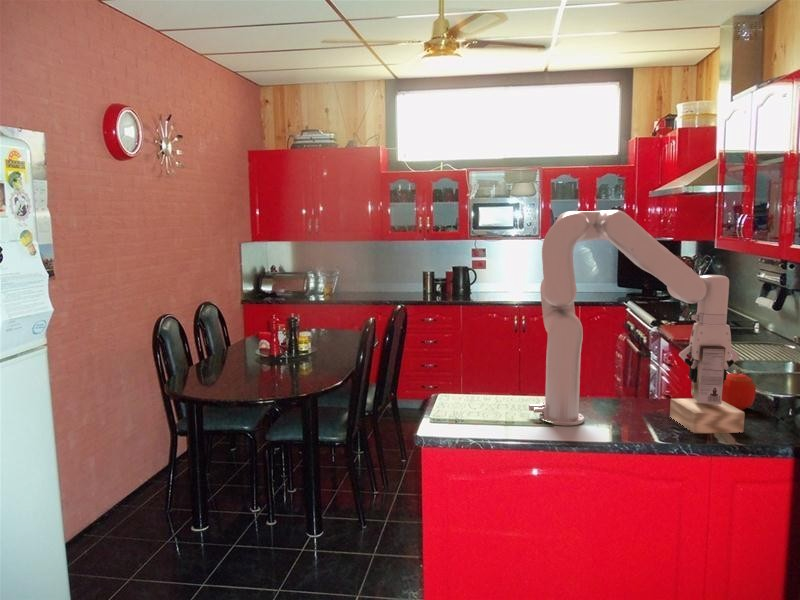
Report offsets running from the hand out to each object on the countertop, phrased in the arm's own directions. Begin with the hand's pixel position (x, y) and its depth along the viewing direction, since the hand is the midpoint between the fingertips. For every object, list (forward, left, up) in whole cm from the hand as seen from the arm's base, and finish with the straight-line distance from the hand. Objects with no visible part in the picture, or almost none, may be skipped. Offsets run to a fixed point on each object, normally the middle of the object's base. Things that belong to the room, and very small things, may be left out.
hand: (707, 381), depth 183 cm
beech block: (0, 0, -13) cm, 13 cm away
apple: (+15, +18, -13) cm, 27 cm away
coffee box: (0, 0, -5) cm, 5 cm away
